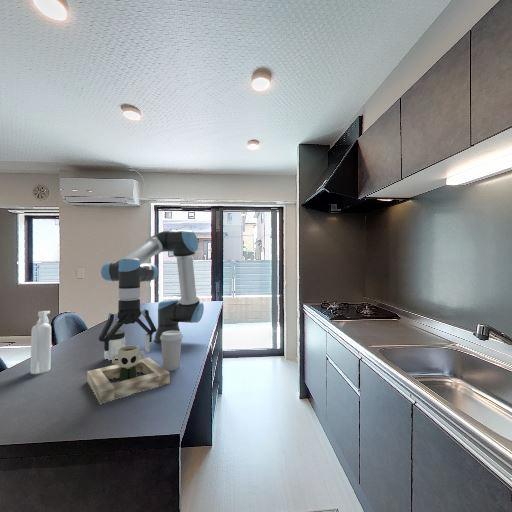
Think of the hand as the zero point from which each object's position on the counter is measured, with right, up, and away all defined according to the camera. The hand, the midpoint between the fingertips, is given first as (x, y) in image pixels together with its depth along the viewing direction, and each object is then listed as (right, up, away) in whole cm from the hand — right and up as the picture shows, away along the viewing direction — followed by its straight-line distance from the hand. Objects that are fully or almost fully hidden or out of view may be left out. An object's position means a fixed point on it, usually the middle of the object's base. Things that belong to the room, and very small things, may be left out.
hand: (129, 355), depth 103 cm
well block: (0, -10, -1) cm, 10 cm away
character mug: (0, -11, -1) cm, 11 cm away
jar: (-19, -11, +27) cm, 35 cm away
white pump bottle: (-42, -11, +10) cm, 44 cm away
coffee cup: (+12, -11, +14) cm, 21 cm away
